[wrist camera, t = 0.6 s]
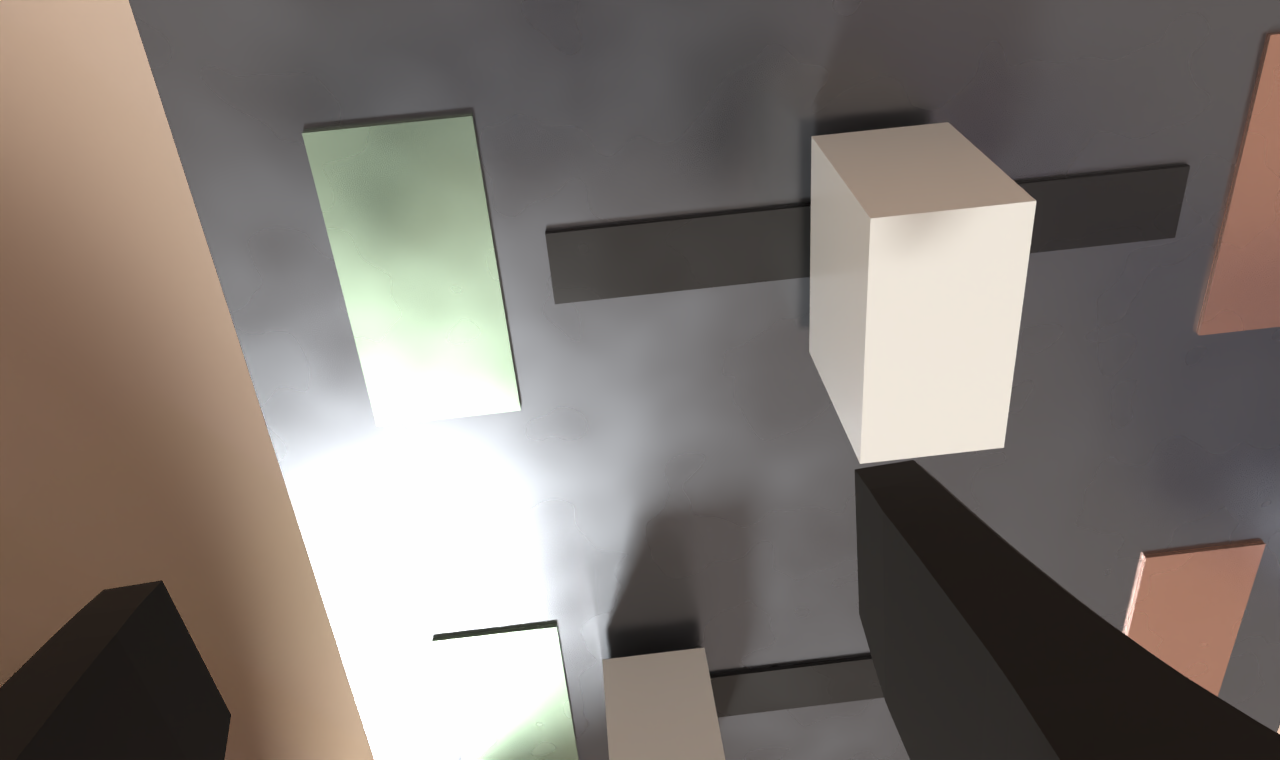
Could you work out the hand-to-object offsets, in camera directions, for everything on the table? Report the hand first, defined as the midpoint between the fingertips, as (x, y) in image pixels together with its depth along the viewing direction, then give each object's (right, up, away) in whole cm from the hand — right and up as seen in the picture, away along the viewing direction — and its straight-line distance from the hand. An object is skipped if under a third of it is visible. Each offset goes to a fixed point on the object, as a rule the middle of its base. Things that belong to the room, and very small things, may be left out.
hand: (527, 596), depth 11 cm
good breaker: (+2, -5, +10) cm, 11 cm away
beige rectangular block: (+5, +4, +5) cm, 8 cm away
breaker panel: (+5, +1, +10) cm, 11 cm away
